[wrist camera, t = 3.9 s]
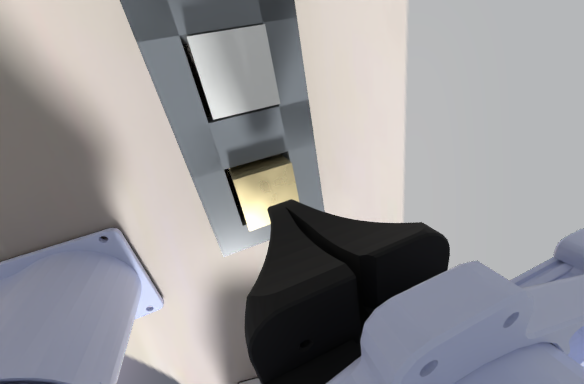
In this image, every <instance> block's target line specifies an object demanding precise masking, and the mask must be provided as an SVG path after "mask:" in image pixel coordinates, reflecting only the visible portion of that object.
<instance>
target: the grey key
mask: <svg viewBox="0 0 584 384" xmlns="http://www.w3.org/2000/svg"><path fill="white" fill-rule="evenodd" d="M187 40H188V44H189V48H190V51H191V54H192V57H193V60H194V63H195V66H196V69H197V72H198V76H199V79H200V82H201V85H202V88H203V91H204V94H205V97H206V100H207V103H208V106H209V110H210V113H211V115H212V118H213V120H214V119H218V118H223V117H227V116H231V115H235V114H239V113H244V112H248V111H252V110H256V109H260V108H265V107H269V106H273V105H277V104H280V99H279V94H278V89H277V83H276V78H275V73H274V68H273V63H272V58H271V53H270V47H269V42H268V37H267V32H266V27H265V24H263V25H257V26H250V27H244V28H237V29H231V30H225V31H218V32H212V33H206V34H199V35H193V36H187Z"/></svg>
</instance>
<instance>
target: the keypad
mask: <svg viewBox="0 0 584 384" xmlns="http://www.w3.org/2000/svg"><path fill="white" fill-rule="evenodd" d="M120 2H121V4H122V7H123V9H124V12H125V14H126V17H127V19H128V22H129V24H130V27H131V29H132V32H133V34H134V37H135V39H136V41H137V44H138V46H139V49H140V51H141V54H142V56H143V59H144V61H145V64H146V66H147V69H148V71H149V74H150V76H151V79H152V81H153V83H154V86H155V88H156V91H157V93H158V96H159V98H160V101H161V103H162V106H163V108H164V111H165V113H166V116H167V118H168V121H169V123H170V125H171V128H172V130H173V133H174V135H175V138H176V140H177V143H178V145H179V148H180V150H181V153H182V155H183V158H184V160H185V163H186V165H187V167H188V170H189V172H190V175H191V177H192V180H193V182H194V185H195V187H196V190H197V192H198V195H199V197H200V200H201V202H202V205H203V207H204V209H205V212H206V214H207V217H208V219H209V222H210V224H211V227H212V229H213V232H214V234H215V237H216V239H217V242H218V244H219V247H220V249H221V251H222V254H223V256H224V257H225V256H228V255H231V254H233V253H236V252H239V251H242V250H244V249H247V248H250V247H252V246H255V245H258V244H261V243H263V242H266V241H269V240H270V232H271V224H269V225H266V226H264V227H261V228H258V229H255V230H252V231H249V229H248V226H247V223H246V220H245V217H244V214H243V212H242V209H241V206H239V207H237V206H236V203H235V200H234V197H233V194H232V191H231V188H230V185H229V182H228V179H227V176H226V173H225V169H228V168H232V167H235V166H239V165H242V164H246V163H249V162H253V161H256V160H260V159H263V158H267V157H270V156H274V155H277V154H280V153H281V154H282V155H283V156H284V157H285V158H287V159H288V160H289V161H290V162H292V166H293V171H294V176H295V181H296V186H297V192H298V197H299V202H300V203H302V204H305V205H307V206H309V207H312V208H314V209H317V210H320V211H323V212H325V211H324V205H323V198H322V191H321V184H320V177H319V170H318V163H317V156H316V149H315V142H314V135H313V128H312V121H311V114H310V107H309V100H308V93H307V86H306V79H305V72H304V65H303V58H302V51H301V44H300V37H299V30H298V23H297V16H296V9H295V2H294V0H120ZM263 24H265V27H266V32H267V37H268V42H269V47H270V53H271V58H272V63H273V68H274V73H275V78H276V83H277V89H278V94H279V99H280V104H277V105H273V106H269V107H265V108H260V109H256V110H252V111H248V112H244V113H239V114H235V115H231V116H227V117H223V118H218V119H214V120H213V118H212V117H208V118H207V116H206V113H205V110H204V107H203V104H202V101H201V98H200V95H199V92H198V89H197V86H196V83H195V80H194V77H193V74H192V71H191V68H190V65H189V62H188V59H187V56H186V53H185V50H184V47H183V45H187V44H188V40H187V36H193V35H199V34H206V33H212V32H218V31H225V30H231V29H237V28H244V27H250V26H257V25H263Z"/></svg>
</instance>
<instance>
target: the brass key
mask: <svg viewBox="0 0 584 384" xmlns="http://www.w3.org/2000/svg"><path fill="white" fill-rule="evenodd" d="M229 171H230V174H231V178H232V181H233V184H234V187H235V190H236V193H237V196H238V199H239V202H240V205H241V209H242V212H243V214H244V217H245V220H246V223H247V226H248V229H249V231H252V230H255V229H258V228H261V227H264V226H266V225H269V224H271V222H270V218H269V214H268V211H267V209H268V207H270V206H273V205H276V204H279V203H282V202H285V201H288V200H290V199H293V200H295V201H298V202H299V197H298V192H297V186H296V181H295V176H294V171H293V166H292V162H290V161H289V160H288V159H287V158H285V157H284V156H283V155H282V154H281V153H280V154H277V155H274V156H270V157H267V158H263V159H260V160H256V161H253V162H249V163H246V164H242V165H239V166H235V167H232V168H229Z"/></svg>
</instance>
